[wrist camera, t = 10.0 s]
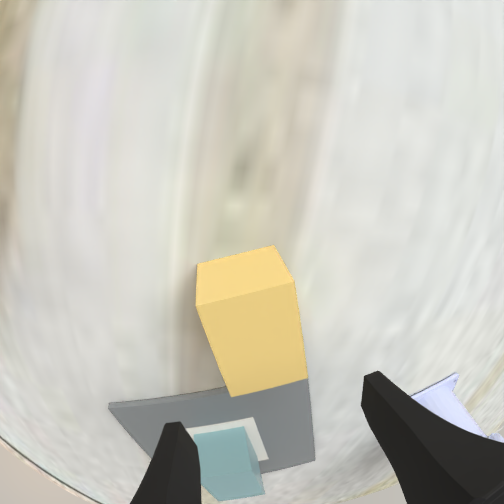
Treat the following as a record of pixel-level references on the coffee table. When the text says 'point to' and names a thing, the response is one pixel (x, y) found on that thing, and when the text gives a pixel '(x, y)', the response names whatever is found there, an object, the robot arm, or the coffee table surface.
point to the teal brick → (229, 464)
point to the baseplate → (231, 420)
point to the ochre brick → (252, 320)
